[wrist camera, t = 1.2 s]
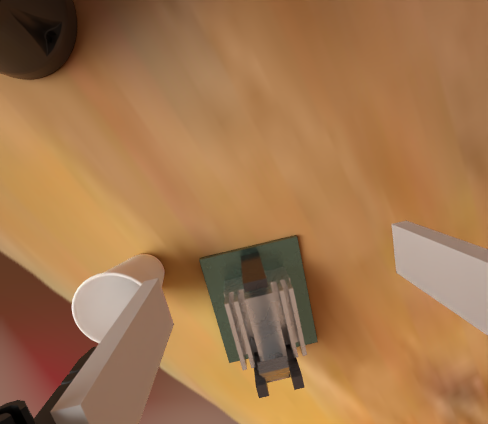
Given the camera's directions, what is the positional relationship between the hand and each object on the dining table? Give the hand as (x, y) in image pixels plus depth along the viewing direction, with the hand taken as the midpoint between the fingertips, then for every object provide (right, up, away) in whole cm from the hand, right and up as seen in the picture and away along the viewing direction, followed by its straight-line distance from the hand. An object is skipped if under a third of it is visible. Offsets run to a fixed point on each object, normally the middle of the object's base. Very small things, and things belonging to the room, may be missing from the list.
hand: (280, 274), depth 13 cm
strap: (+2, -16, +18) cm, 24 cm away
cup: (-18, -6, +28) cm, 33 cm away
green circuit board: (+1, -12, +29) cm, 32 cm away
